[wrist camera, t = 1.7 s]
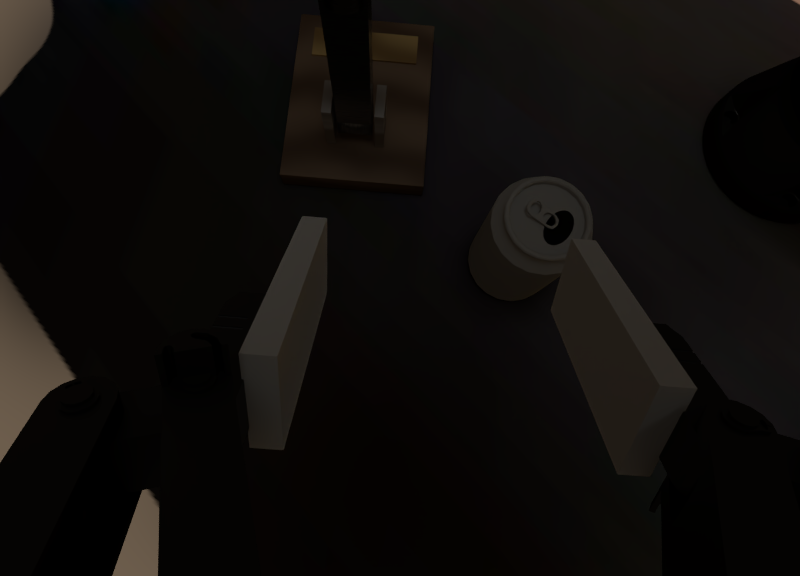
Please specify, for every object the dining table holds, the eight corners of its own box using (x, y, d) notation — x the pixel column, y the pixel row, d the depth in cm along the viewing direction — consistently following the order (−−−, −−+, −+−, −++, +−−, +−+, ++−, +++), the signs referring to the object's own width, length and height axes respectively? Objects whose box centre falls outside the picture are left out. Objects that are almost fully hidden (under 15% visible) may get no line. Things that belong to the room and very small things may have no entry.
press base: (421, 195, 47) (428, 160, 40) (283, 183, 47) (267, 146, 40) (432, 40, 51) (440, -16, 44) (304, 29, 51) (293, -29, 44)
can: (518, 319, 45) (567, 290, 33) (450, 271, 46) (474, 226, 34) (562, 255, 46) (623, 206, 35) (495, 209, 47) (533, 146, 35)
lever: (372, 144, 45) (366, -75, 24) (337, 141, 45) (300, -81, 24) (375, 112, 46) (371, -126, 25) (340, 109, 46) (308, -133, 25)
